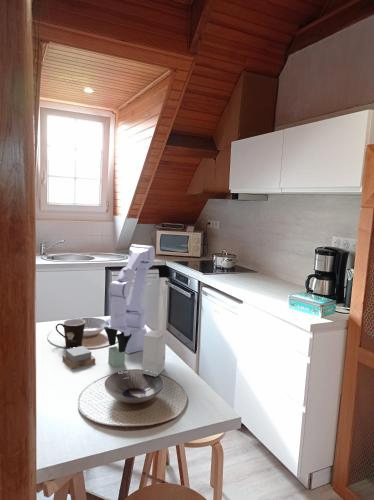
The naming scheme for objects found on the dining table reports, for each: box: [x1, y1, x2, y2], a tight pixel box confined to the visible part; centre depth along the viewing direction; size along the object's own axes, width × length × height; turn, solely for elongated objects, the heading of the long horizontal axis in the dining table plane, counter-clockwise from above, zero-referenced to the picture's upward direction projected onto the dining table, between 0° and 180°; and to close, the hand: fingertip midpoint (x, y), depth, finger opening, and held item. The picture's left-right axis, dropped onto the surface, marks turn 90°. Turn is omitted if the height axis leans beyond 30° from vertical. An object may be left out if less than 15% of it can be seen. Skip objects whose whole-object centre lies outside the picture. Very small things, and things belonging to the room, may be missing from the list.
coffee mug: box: [55, 318, 86, 349], centre depth 154 cm, size 12×9×10 cm
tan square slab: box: [62, 353, 96, 370], centre depth 139 cm, size 9×9×2 cm
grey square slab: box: [64, 345, 92, 363], centre depth 138 cm, size 7×7×2 cm
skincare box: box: [141, 328, 167, 375], centre depth 133 cm, size 8×6×15 cm
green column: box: [107, 345, 126, 368], centre depth 139 cm, size 4×4×6 cm
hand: (116, 348), depth 138 cm, fingers open, 7 cm apart
